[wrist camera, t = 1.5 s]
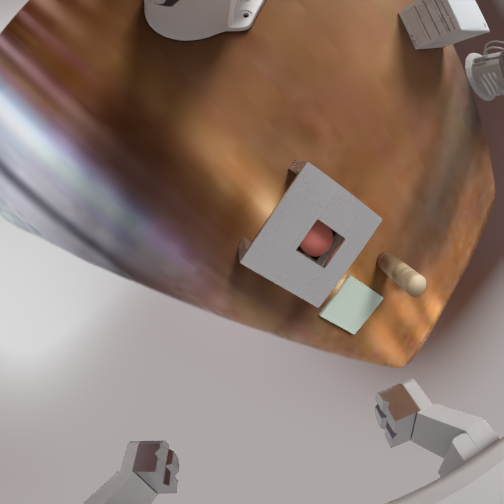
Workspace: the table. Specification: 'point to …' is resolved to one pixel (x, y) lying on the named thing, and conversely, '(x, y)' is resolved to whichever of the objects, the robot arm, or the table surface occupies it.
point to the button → (317, 239)
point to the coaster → (351, 305)
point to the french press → (485, 73)
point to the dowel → (401, 274)
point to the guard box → (296, 228)
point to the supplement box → (442, 22)
